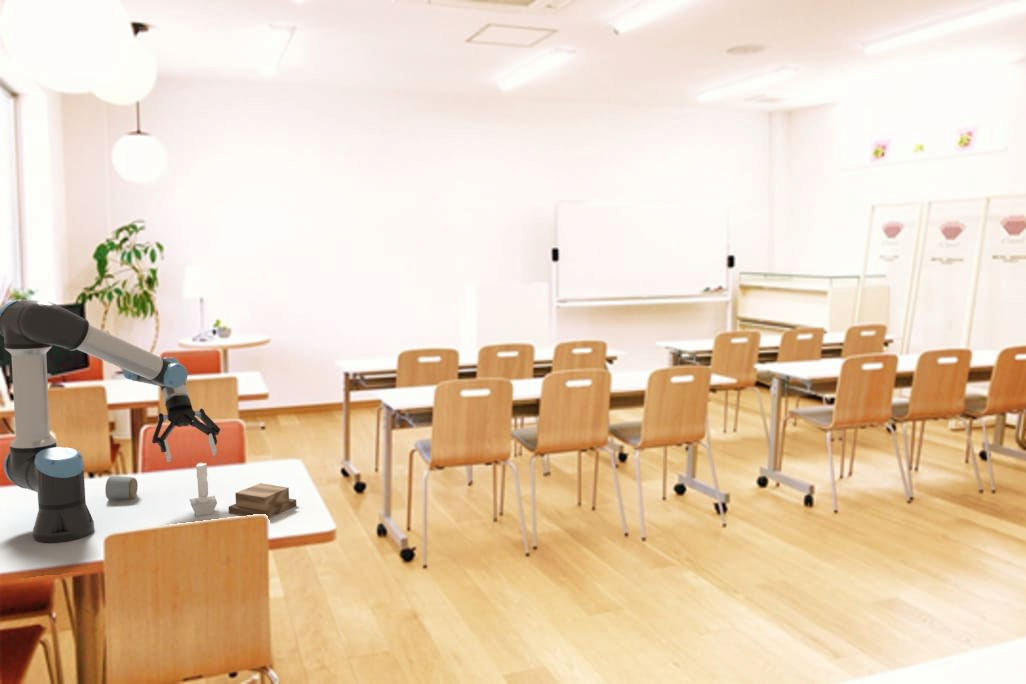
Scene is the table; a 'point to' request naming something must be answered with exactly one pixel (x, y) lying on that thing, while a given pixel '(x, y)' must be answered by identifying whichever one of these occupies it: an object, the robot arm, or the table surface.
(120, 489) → the ceramic mug
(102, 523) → the table surface
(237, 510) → the walnut plinth
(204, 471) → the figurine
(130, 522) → the table surface
